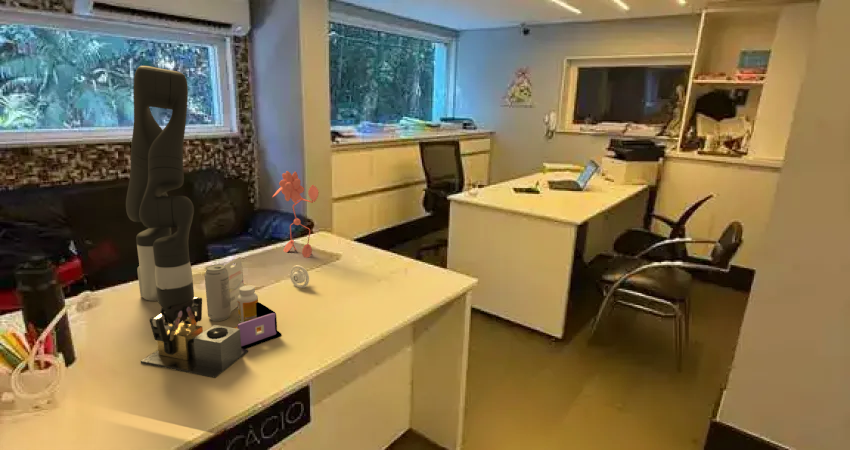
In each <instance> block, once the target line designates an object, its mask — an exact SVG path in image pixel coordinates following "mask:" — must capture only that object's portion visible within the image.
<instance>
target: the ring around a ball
mask: <svg viewBox="0 0 850 450" xmlns="http://www.w3.org/2000/svg"><path fill="white" fill-rule="evenodd" d="M296 269H298V270H296ZM289 278H290V281H291V283H292V284H293V286H295V287H297V288H301V289H305V288H306V287H307V286H308V285H309V283H310V276H309V273H308V270H307V269H306V268H305V267H304V266H302V265H299V264H297V265H293V266H292V267H291V269H290V270H289ZM302 283H304V284H302ZM301 284H302V285H301Z"/></svg>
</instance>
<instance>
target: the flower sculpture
mask: <svg viewBox="0 0 850 450" xmlns="http://www.w3.org/2000/svg"><path fill="white" fill-rule="evenodd" d="M281 177H282V179H281V180H280V181H279V183H278V185H279V186H280V187H279V188H278V189H277V190H276V191H275V193H274V194H273V195H272V198H274V197H276V196H277V195H278V194H279V193H280V192H281V193H282V195H284V199H285V201H286V202H289V201H290V200H291V201H292V202H293V203H294V204H292V207H291V208H292V210H293V214H294V219H293V222H292V223H291V224H290V225H289V233H290V234H289V237H290V240H289V241H288V242H287V243H286V244H285V246H284V248H283V252H284V253H289V252H290V250H292V248H293V249H294V250H295V251H296V250H297V248H296V246H295V241H294V239H292V225H295V226H299V225H300V226H302V227H303V228H305V229H308V230H309V232H308V237H307V238H308V239H307V243H306V244H305V245H304V246H303V248H302V250H301V253H302V257H303V258H306V259H307V258H310V257H311V256H312V255H313V253H312V252H313V248H312V246H311V244H309V241H310V235H311V229H310V228H309V227H307V226H305V225H303V224H302V223H301V222H302V221H301V219H300V218H298V217H297V215H296V211H295V206H296V205H297V204H299V203H300V202H301V201H304V202H308V203H311V204H313V203H314V202H316V201H317V199H318V198H319V193H320V191H319V189H318V188H317V186H316V185H314V184H311V186H310V187H309V189H308V193H307V194H308V197H309V198H310V200H308V199H305V198H303V197H302V195H301V194H302V193H304V192H305V188H304V187H303V186H302V185H301V179H300V178H299V176H298V173H297V171H294V172H293V173H291V172H289V170H286V171H285V173H284V172H283V173H282V174H281Z"/></svg>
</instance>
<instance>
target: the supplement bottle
mask: <svg viewBox="0 0 850 450" xmlns="http://www.w3.org/2000/svg"><path fill="white" fill-rule="evenodd" d="M239 293H240V295H239V296H238V298H237V303H238V307H237V314H238V317H237V318H238V321H239V324H240V323H242V322H246V321H249V320H252V319H255V318H257V315H256V303H258V302H259V296H258V294H257V293H256V288H255V285H246V284H245V285H244V286H242V287H240V288H239Z"/></svg>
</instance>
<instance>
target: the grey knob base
mask: <svg viewBox="0 0 850 450" xmlns="http://www.w3.org/2000/svg"><path fill="white" fill-rule="evenodd" d="M188 352H189V359H188V360H183V359H178V358H173V357H168V356H163V355H159V353H158V350H156V351H154V352H153V353H150V354H149V355H148V356H145V357H144V358H143V359H141V360H140V364H144V365H147V366H148V365H149V366H153V367H158V368H164V369H169V370H173V371H178V372H184V373H189V374H193V375H197V376H198V375H199V376H203V377H209V378H214V379H216V378H217V377H218V376H220V375H221V374H222V373H224V372H225V371H226V370H227V369H228V368H230V367H231V366H232V365H233V364H235V363H236V362H237V361H238V360H240V359H241V358H243V356H245V355H246V354H248V353H249V348H247V349H242V348H241V337H240V329H237V328H235V327H231V326H226V325H225V326H224V325H218V324H213V325H212V326H210V327H209V328H207V329H206V330H203V332H202V333H201V334H199V335H198V336H196V337H194V338H193V339H191V340H189V341H188Z"/></svg>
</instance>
